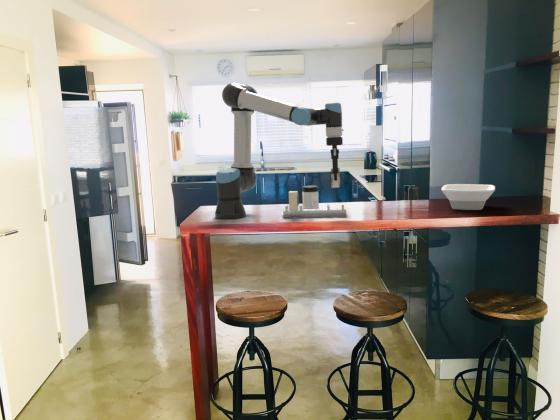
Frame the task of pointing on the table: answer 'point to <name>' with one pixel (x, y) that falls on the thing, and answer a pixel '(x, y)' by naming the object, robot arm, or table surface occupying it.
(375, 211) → the table surface
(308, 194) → the jar
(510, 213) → the table surface
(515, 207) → the table surface
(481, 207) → the bowl
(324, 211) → the rail
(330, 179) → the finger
